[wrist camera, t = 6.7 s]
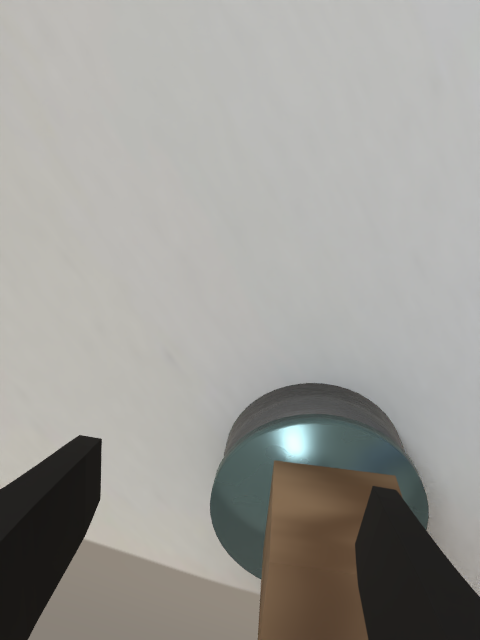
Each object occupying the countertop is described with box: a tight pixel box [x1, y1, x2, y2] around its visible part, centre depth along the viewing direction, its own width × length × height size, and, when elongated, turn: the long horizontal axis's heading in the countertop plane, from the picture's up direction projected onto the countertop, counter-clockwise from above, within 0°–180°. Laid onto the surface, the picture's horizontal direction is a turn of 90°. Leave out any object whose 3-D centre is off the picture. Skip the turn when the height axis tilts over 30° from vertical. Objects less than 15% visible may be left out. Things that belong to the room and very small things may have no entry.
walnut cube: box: [258, 460, 403, 640], centre depth 17 cm, size 5×5×5 cm
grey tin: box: [210, 383, 428, 579], centre depth 22 cm, size 9×9×4 cm
